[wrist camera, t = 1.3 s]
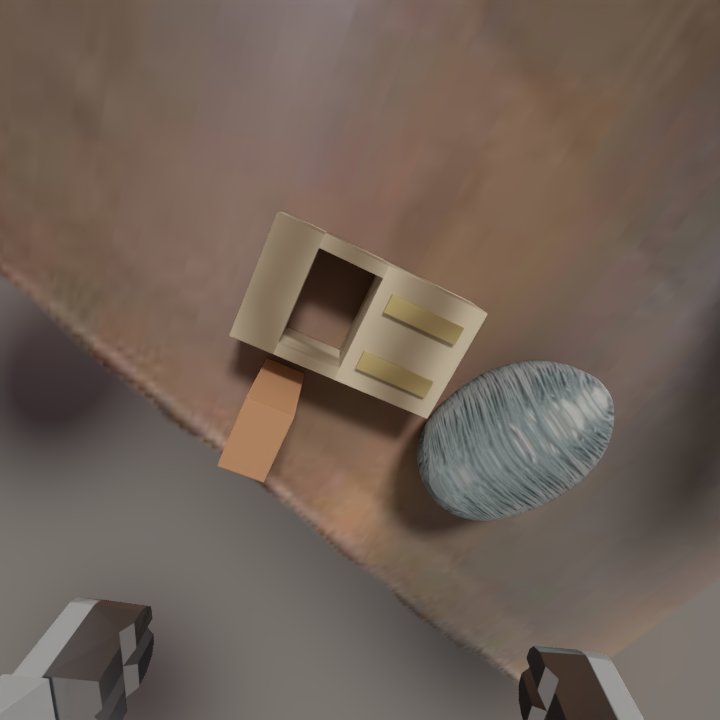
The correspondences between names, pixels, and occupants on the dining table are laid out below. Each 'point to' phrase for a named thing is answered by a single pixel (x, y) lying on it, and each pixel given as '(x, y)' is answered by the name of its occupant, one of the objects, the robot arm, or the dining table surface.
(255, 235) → the dining table surface
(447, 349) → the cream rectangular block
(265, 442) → the orange rectangular block
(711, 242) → the dining table surface
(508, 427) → the spool
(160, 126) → the dining table surface
